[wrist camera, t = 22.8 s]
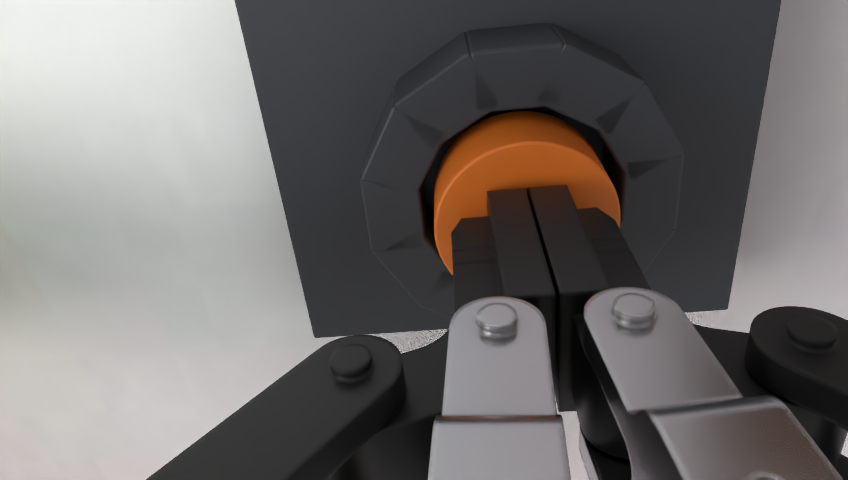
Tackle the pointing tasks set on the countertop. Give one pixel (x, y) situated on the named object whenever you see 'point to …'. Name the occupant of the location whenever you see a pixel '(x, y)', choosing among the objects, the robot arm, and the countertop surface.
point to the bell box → (491, 95)
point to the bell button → (515, 169)
